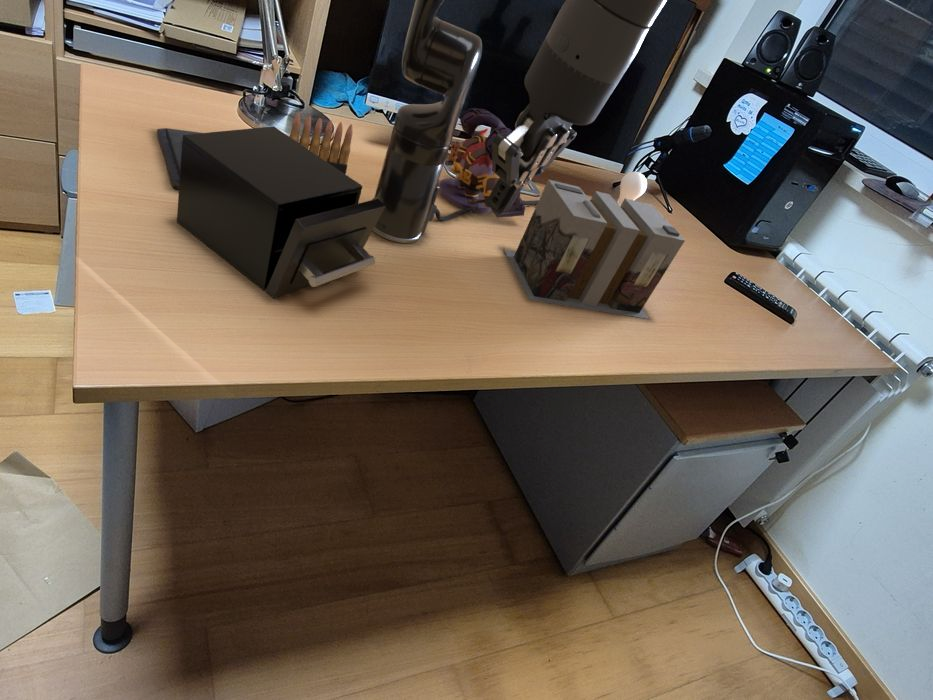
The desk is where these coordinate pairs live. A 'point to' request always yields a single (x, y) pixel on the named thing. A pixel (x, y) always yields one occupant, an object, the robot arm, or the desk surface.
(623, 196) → the lightbulb
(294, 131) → the ammunition clip
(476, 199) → the figurine
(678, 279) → the desk surface
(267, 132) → the oven
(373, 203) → the oven door
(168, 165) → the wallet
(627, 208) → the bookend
